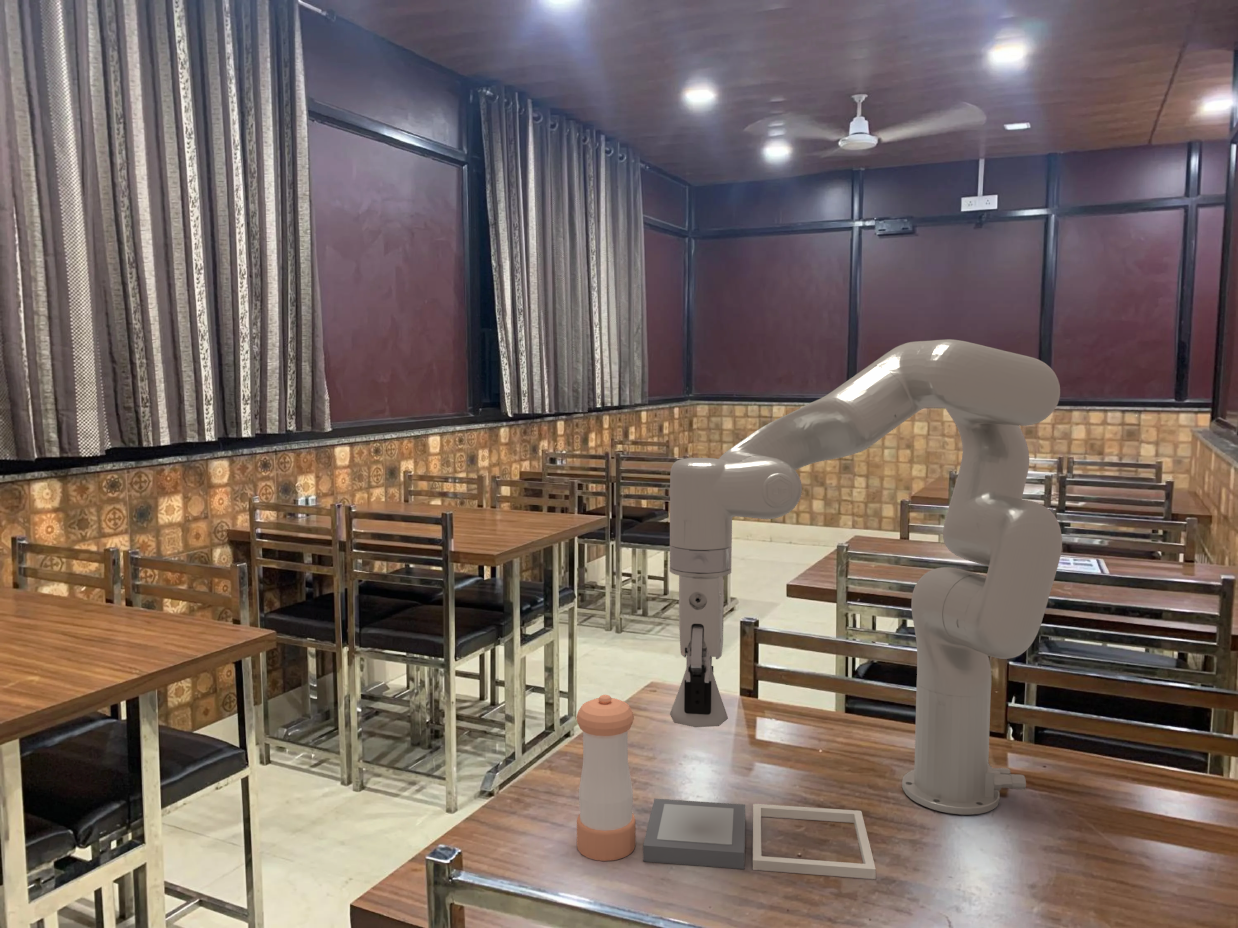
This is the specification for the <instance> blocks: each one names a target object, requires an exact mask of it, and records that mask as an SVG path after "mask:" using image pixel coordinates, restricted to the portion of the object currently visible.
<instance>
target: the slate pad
mask: <svg viewBox="0 0 1238 928" xmlns="http://www.w3.org/2000/svg"><path fill="white" fill-rule="evenodd" d="M652 803H653V804H652V807H651V811H650V816H649V820H648V823H647V827H646V831H645V835H644V841H643V844H642V854H643V855H642V858H643V859H642V862H649V863H658V864H659V863H663V864H673V865H686V866H687V865H688V866H697V867H698V866H700V867H712V868H713V867H714V868H725V869H726V868H727V869H737V870H744V869H745V854H746V851H745V850H746V849H745V847H746V845H745V844H746V804H743V803H727V802H726V803H725V802H712V801H711V802H710V801H701V800H700V801H697V800H695V801H694V800H682V799H681V800H680V799H666V798H654V799H653V802H652Z"/></svg>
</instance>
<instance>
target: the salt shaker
mask: <svg viewBox="0 0 1238 928" xmlns="http://www.w3.org/2000/svg"><path fill="white" fill-rule="evenodd" d="M634 720H635V716H634V711H633V710H632V708H631V706H630V705H629V704H628V703H626V702H625V701H624V700H620V699H618V698H613V697H611V696H610V695H608V694H601V695H600V696H599V697H597V698H594V699H591V700H588V701H585V702H584V703H582V705H581V706H580V708H579V709H578V711H577V714H576V722H577V726H578V727H579V729H580V730H581V731H582V733H583V734H582V742H583V744H582V745H583V746H582V747H583V749H582V750H583V751H582V754H583V755H582V756H583V757H582V758H583V759H582V761H583V762H582V768H581V774H580V780H579V781H580V782H579V789H578V799H579V800H578V802H579V814H578V816H577V818H576V847H577V850H578V852H579V853H580V854H581V855H582V856H584V857H586V858H587V859H591V860H594V861H602V862H606V861H617V860H620V859H624V858H626V857H628V856H629V855H631V854H632V853H633V851H635V849H636V842H637V841H636V835H637V834H636V817H635V815H634V814H635V813H633V803H634V801H633V800H634V799H633V798H634V795H633V794H634V793H633V792H634V790H633V785H632V778H631V772H630V765H629V752H628V751H629V749H628V748H629V743H628V741H629V739H628V737H629V736H628V731H629V730H630V729H631V727H632V725H633V722H634Z"/></svg>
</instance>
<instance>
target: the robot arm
mask: <svg viewBox="0 0 1238 928" xmlns="http://www.w3.org/2000/svg"><path fill="white" fill-rule="evenodd" d="M1060 386H1061V385H1060V382H1059V378H1058V377H1057V374H1056V372H1055V371H1054V370H1053V369H1052V368H1051V366H1049V365H1048V364H1047V363H1045V362H1044V361H1042V360H1040V359H1037V358H1036V357H1032V356H1028V355H1023V354H1020V353H1015V352H1011V351H1006V350H1003V349H998V348H996V347H995V348H994V347H990V346H985V345H982V344H978V343H973V342H970V341H965V340H958V339H953V338H952V339H951V338H949V339H948V338H947V339H935V340H920V341H918V340H917V341H910V342H909V341H908V342H906V343H902V344H899V345H898V346H895V347H894V348H892V349H891V350H890V351H889V350H888V352H886V353H884V354H883V355H882V356H880V357H879V358H878V359H877V360H875V361H873V362H872V363H871V364H869V365H868V366H866V367H865V368H864V369H862V370H860V371H859V372H858V373H856V374H855V375H854V376H853V377H850V378H849V379H848V380H847V381H845V382H843V383H842V384H840V385H839V386H838V387H837V388H835V389H833V390H832V391H830V392H829V393H828V394H826V395H825V396H823V397H820V398H819V399H816V400H814V401H812V402H808V403H807V404H806V405H803V406H801V407H800V408H798V409H796V410H794V411H791V412H789V413H788V414H786V415H783V416H781V417H779V418H776V419H774V420H773V421H771V422H769V423H767V424H766V425H765V424H764V425H763V426H762V427H760V428H758V429H756V430H755V431H753V432H752V433H750V434H749V435H748V436H746V437H745V438H743V439H742V440H741V441H739V442H738V443H737V444H735V445H734V446H732V447H730V448H729V449H728V450H727V451H725V452H724V453H723V454H722V455H721V456H720V457H718V458H713V457H687V458H682V459H681V458H680V459H678V460H676V461H675V462H673V464H672V465H671V467H670V468H671V469H670V476H669V482H670V483H669V572H670V573H671V574H673V575H675V576H678V620H679V621H678V623H679V626H678V627H679V644H680V645H679V648H680V655H681V656H682V657H683V658H685V660H686V664H685V665H686V666H685V671H686V680H685V684H684V711H685V713H687V714H704V715H709V714H710V713H711V681H709V669H710V659H711V665H712V671H713V672H714V665H713V658H715V660H719V659H720V658H721V657H723V656H722V655H723V650H724V648H723V647H724V608H725V607H724V606H725V605H724V601H725V600H724V597H725V595H724V577H725V576H729V575H730V574H732V555H733V553H732V546H733V545H732V544H733V518H734V517H737V518H749V519H750V518H751V519H760V520H771V519H773V520H775V519H778V518H781V517H783V516H786V515H788V514H789V513H790V512H791V511H793V510H794V509H795V507H797V506H798V504H799V502H800V499H801V497H802V492H803V491H802V490H803V485H802V481H801V480H802V479H801V478H800V475H799V474H798V472H797V471H796V470H799V469H801V468H803V467H806V466H809V465H812V464H814V463H819V462H823V461H831V460H835V459H836V460H837V459H841V458H845V457H848V456H852V455H855V454H858V453H861V452H863V451H866V450H867V449H869V448H870V447H872V446H873V445H875V444H876V443H877V442H879V441H880V440H881V439H883V438H884V437H885V436H886V435H888V434H889V433H891V432H892V431H893V430H895V429H896V428H897V427H898V426H900V425H901V424H903V423H905V422H906V421H907V420H909V419H910V418H911V417H913V416H915V415H916V414H917V413H918V412H921V410H923V409H926V408H929V409H930V408H934V409H935V408H936V409H945V410H946V411H947V413H948V415H949V416H950V417H951V419H952V421H953V422H954V424H955V426H956V428H957V430H958V433H959V435H960V440H961V445H962V454H961V455H962V456H961V461H960V466H959V470H958V474H957V477H956V481H955V483H954V488H953V491H952V495H951V498H950V501H949V504H948V505H949V506H948V509H947V512H946V515H945V520H944V523H943V529H942V539H943V542H944V543H943V544H944V545H945V547H946V549H948V550H949V551H950V552H951V553H952V554H953V555H954V556H957V557H958V558H960V559H964V560H966V561H969V562H973V563H975V564H979V565H983V566H987V567H988V570H987V573H986V575H983V574H980V573H976V572H973V571H969V570H966V569H963V568H958V567H950V566H949V567H947V566H945V567H944V566H943V567H936V568H933V569H931V570H929V571H927V572H926V573H924V574H923V575H922V576H921V577H920V578H919V579H918V580H917V582H916V584H915V586H914V587H913V590H912V594H911V603H910V604H911V616H912V621H913V622H912V624H913V626H914V627H913V628H914V634H915V640H916V641H915V643H916V657H917V658H916V661H917V662H916V663H917V664H916V665H917V666H916V674H917V675H916V694H915V732H914V733H915V735H914V736H915V737H914V769H911V770H910V771H908V772H907V773H905V774H904V776H903V777H902V783H901V784H902V786H901V787H902V790H903V792H904V793H905V795H906V796H907V797H908V798H909V799H911V800H912V801H914V802H915V803H917V804H918V805H921V806H923V807H926V808H928V809H931V810H933V811H937V812H940V813H946V814H951V815H960V816H962V815H965V816H967V815H968V816H969V815H972V816H973V815H980V814H985V813H988V812H990V811H992V810H994V809H996V808H997V807H998V805H999V803H1000V791H1001V790H1002V789H1011V790H1021V791H1023V790H1026V787H1027V782H1026V777H1025V775H1024V774H1017V773H1016V774H1014V773H1013V774H1011V769H1010V768H1007V767H1006V768H1005V767H1004V768H1003V767H999V768H996V767H992V765H990V763H989V755H990V754H989V752H990V751H989V749H990V728H991V727H990V726H991V725H990V723H991V721H990V719H991V693H992V669H991V668H992V667H991V662H990V658H989V657H992V658H994V659H995V658H996V659H1004V660H1005V659H1006V660H1007V659H1014V658H1016V657H1019V656H1020V655H1022V654H1023V653H1025V652H1026V651H1027V650H1028V649H1029V648H1030V647H1031V646H1032V644H1033V643H1034V641H1035V639H1036V638H1037V636H1038V633H1039V631H1040V628H1041V625H1042V622H1043V618H1044V616H1045V612H1046V609H1047V606H1048V602H1049V598H1050V595H1051V591H1052V587H1053V586H1054V585H1053V584H1054V581H1055V578H1056V574H1057V570H1058V568H1059V563H1060V559H1061V555H1062V548H1063V538H1062V537H1063V536H1062V530H1061V526H1060V523H1059V521H1058V519H1057V518H1056V515H1055V514H1054V513H1053V512H1052V511H1051V510H1050V509H1049V508H1047V507H1046V506H1044V505H1043V504H1042V503H1038V502H1036V501H1032V500H1029V499H1023V495H1024V491H1025V486H1026V482H1027V478H1028V474H1029V468H1030V451H1029V447H1028V443H1027V441H1026V440H1027V439H1026V438H1025V435H1024V433H1023V431H1022V429H1021V427H1022V426H1023V427H1025V426H1026V427H1027V426H1033V425H1036V424H1038V423H1041V422H1043V421H1044V420H1046V419H1047V418H1048V417H1050V416H1051V415H1052V413H1053V412H1054V411H1055V410H1056V408H1057V406H1058V405H1059V400H1060V397H1061V387H1060ZM703 637H704V638H703ZM690 650H691V655H690ZM706 650H707V653H706V656H702V651H706ZM702 661H705V666H704V665H702Z"/></svg>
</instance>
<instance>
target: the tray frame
mask: <svg viewBox="0 0 1238 928" xmlns="http://www.w3.org/2000/svg"><path fill="white" fill-rule="evenodd" d="M762 817H764V818H765V817H766V818H776V819H777V818H778V819H779V818H780V819H791V820H805V821H806V820H808V821H819V822H820V821H823V822H835V823H836V822H838V823H853V824H854V829H855V833H856V838H857V842H858V846H859V851H860V855H861V858H862V859H861V860H862V863H859V862H858V863H856V862H847V861H846V862H845V861H843V862H842V861H831V860H830V861H829V860H819V859H818V860H816V859H806V858H804V859H802V858H790V857H777V856H766V855H764V856H763V855H762ZM865 824H866V823H865V821H864V816H863V813H862V810H852V809H838V808H824V807H811V806H810V807H809V806H805V807H804V806H793V805H779V804H778V805H777V804H766V803H765V804H763V803H753V804H752V871H763V872H764V871H765V872H776V873H777V872H779V873H791V874H803V875H814V876H827V877H829V876H830V877H841V878H842V877H843V878H853V879H854V878H855V879H867V880H876V877H877V875H876V873H877V872H876V869H877V868H876V866H875V865H876V863H875V861H874V858H873V853H872V849H871V845H870V841H869V838H868V837H869V836H868V833H867V829H866V825H865Z"/></svg>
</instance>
